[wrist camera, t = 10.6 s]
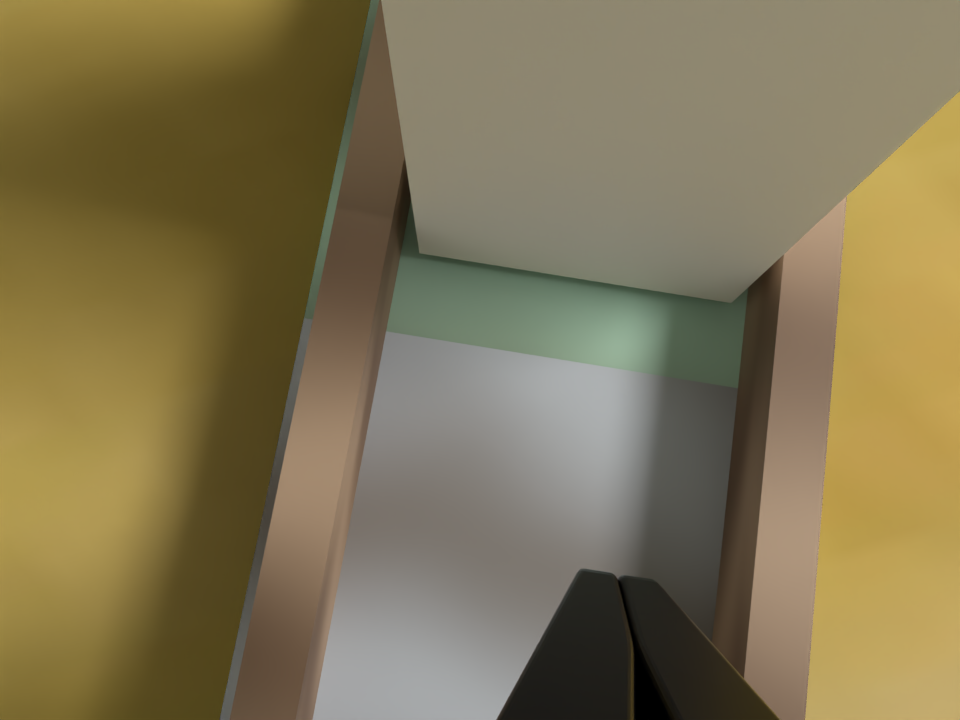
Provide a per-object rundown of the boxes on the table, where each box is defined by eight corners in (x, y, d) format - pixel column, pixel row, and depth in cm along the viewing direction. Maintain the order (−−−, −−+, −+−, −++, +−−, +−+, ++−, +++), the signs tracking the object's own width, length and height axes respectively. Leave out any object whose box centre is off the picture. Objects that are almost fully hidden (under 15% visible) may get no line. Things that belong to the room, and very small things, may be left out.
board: (763, 902, 16) (830, 980, 13) (211, 807, 16) (154, 864, 13) (839, 8, 20) (905, -87, 17) (391, -61, 20) (379, -167, 17)
